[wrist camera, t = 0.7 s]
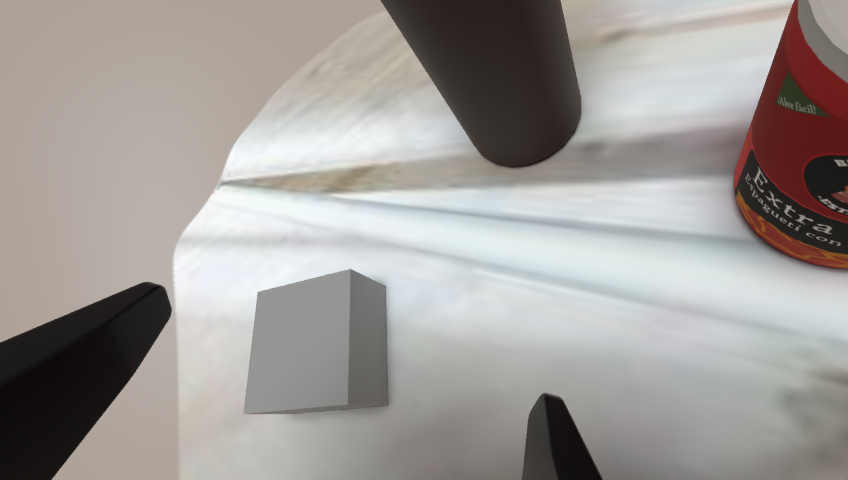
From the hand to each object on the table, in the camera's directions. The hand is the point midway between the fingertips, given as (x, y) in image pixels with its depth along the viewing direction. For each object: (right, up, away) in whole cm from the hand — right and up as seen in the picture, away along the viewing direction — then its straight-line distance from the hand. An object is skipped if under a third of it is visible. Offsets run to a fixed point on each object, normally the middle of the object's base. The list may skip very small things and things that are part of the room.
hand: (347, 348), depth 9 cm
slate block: (-3, -5, +17) cm, 17 cm away
